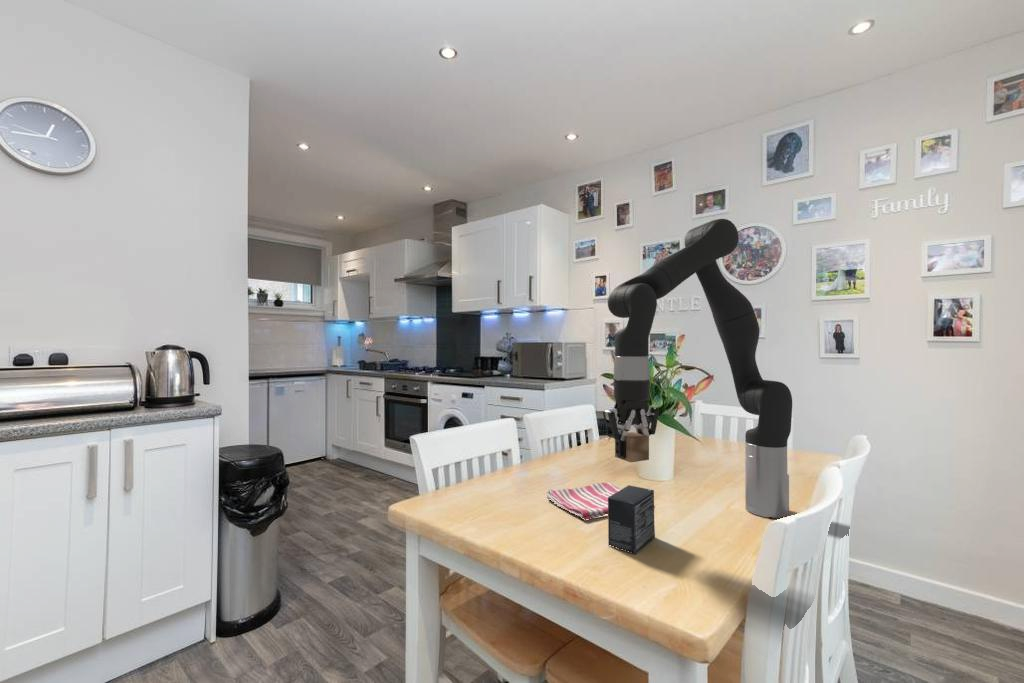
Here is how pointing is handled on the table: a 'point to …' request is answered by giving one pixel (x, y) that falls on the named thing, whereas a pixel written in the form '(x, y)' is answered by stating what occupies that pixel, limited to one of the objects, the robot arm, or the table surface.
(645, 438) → the walnut block
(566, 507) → the dish towel
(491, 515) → the table surface
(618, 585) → the table surface
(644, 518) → the small box
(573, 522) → the table surface
